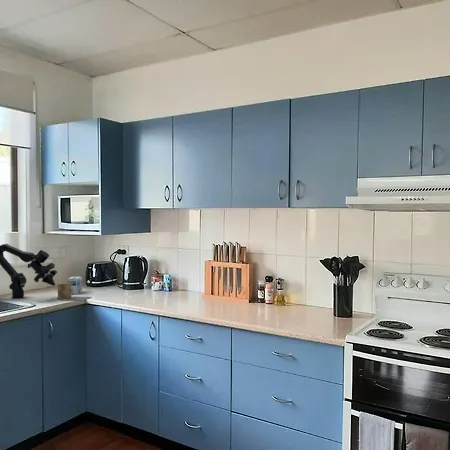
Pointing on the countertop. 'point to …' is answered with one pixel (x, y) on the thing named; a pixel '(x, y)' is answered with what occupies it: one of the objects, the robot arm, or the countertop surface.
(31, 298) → the countertop surface
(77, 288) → the light bulb box
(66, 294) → the walnut block
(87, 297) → the rubber mat
